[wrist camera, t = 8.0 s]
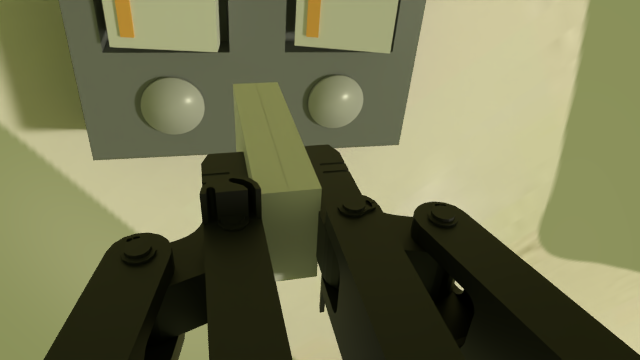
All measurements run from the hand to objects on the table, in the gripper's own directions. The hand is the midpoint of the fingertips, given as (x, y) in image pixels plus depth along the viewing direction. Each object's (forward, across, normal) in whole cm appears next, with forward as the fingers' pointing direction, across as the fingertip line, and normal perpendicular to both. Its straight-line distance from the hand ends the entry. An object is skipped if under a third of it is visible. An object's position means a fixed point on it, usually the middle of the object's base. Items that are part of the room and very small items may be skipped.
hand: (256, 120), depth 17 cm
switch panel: (+16, -1, +2) cm, 16 cm away
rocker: (+12, -6, -1) cm, 14 cm away
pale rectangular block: (+12, +4, -1) cm, 12 cm away
